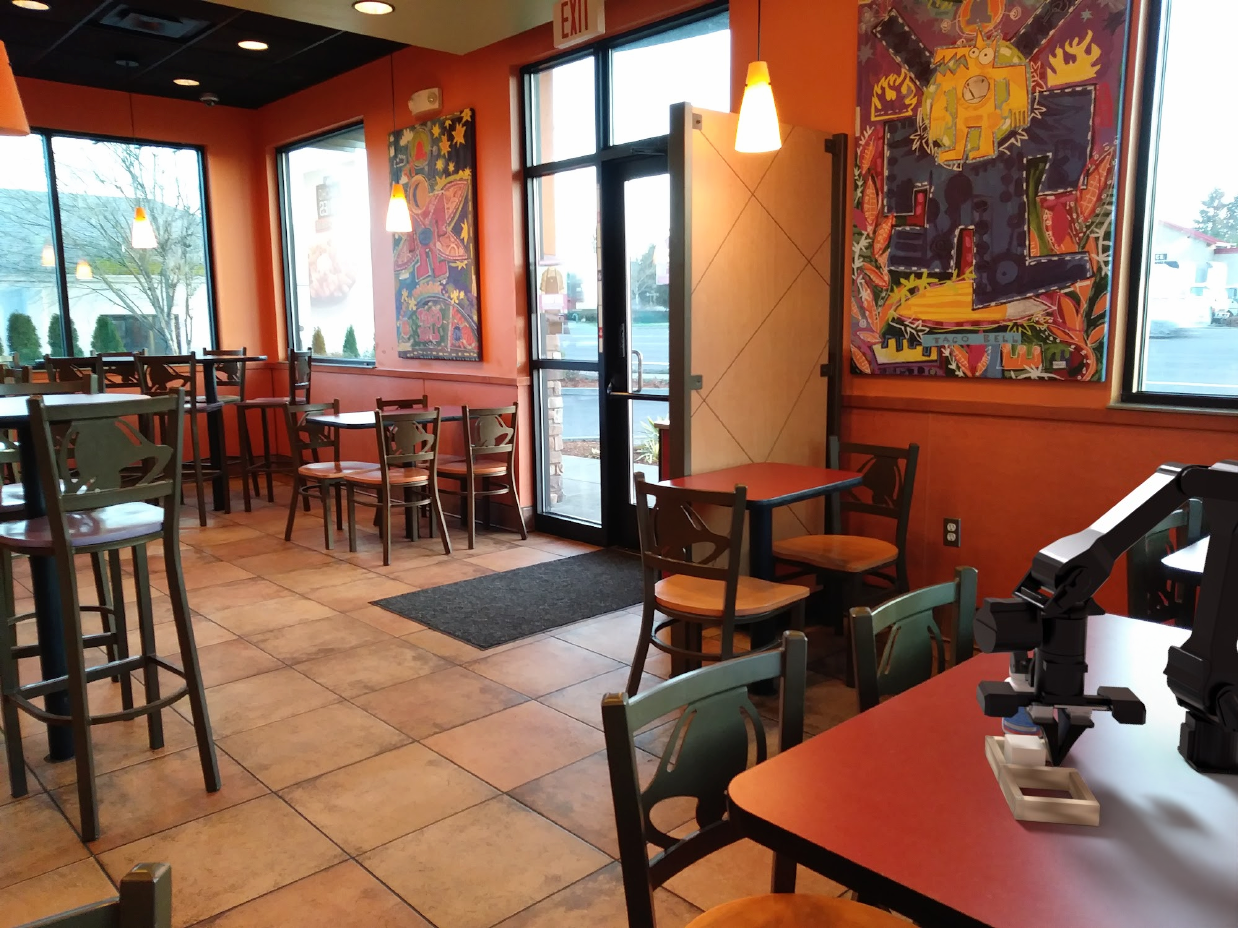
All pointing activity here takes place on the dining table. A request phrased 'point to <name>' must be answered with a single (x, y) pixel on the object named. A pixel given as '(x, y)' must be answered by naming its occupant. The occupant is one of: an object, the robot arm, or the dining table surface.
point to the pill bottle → (1020, 711)
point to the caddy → (1042, 777)
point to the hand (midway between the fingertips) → (1055, 765)
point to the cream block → (1024, 750)
